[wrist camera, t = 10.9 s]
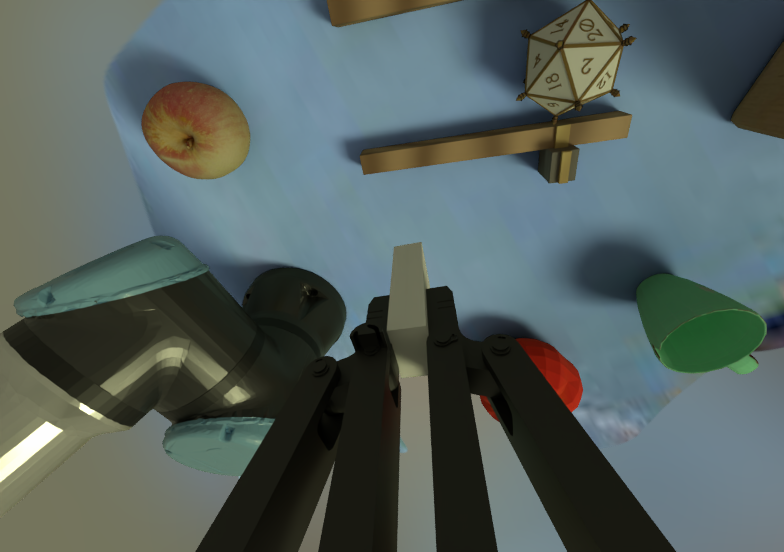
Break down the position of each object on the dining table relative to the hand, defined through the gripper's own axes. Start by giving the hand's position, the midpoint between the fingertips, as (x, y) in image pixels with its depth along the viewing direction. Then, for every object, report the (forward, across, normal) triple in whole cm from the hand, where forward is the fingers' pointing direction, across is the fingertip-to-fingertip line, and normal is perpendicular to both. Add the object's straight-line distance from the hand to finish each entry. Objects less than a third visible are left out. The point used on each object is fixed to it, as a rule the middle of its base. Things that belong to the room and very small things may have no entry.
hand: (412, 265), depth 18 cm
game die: (+22, +15, +6) cm, 27 cm away
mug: (+22, +30, -24) cm, 45 cm away
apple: (+23, -20, +8) cm, 31 cm away
